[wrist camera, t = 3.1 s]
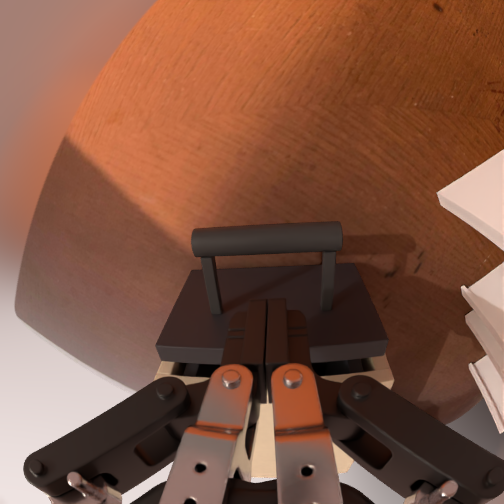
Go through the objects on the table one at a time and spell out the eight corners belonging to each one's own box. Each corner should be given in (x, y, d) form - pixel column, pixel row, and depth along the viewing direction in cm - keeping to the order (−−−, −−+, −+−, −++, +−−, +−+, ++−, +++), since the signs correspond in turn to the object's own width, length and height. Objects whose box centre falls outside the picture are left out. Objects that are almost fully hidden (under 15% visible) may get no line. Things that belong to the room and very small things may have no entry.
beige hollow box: (192, 288, 22) (151, 384, 13) (356, 281, 21) (394, 380, 12) (221, 397, 29) (207, 473, 20) (336, 394, 27) (347, 472, 19)
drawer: (179, 204, 18) (124, 260, 11) (358, 194, 17) (409, 247, 10) (220, 386, 26) (207, 453, 19) (336, 383, 25) (346, 451, 18)
